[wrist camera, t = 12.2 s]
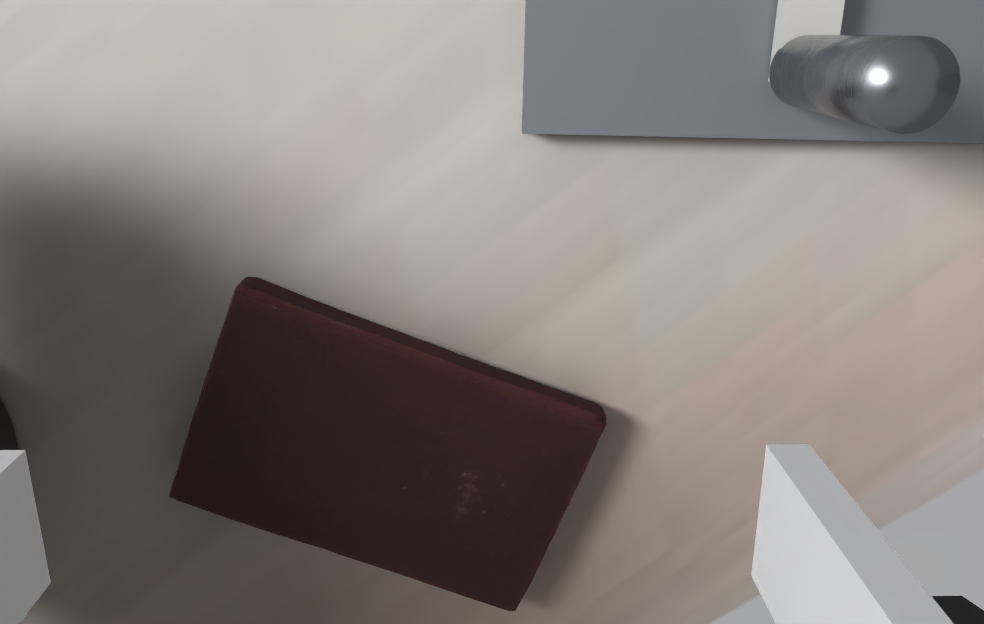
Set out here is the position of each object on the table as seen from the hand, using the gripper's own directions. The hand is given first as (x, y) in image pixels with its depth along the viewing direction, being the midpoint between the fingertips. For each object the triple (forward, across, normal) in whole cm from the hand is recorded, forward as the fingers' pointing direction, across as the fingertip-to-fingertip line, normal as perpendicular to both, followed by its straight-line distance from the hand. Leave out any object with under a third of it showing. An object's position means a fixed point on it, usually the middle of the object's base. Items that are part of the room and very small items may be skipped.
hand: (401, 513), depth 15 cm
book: (+28, +3, +12) cm, 31 cm away
